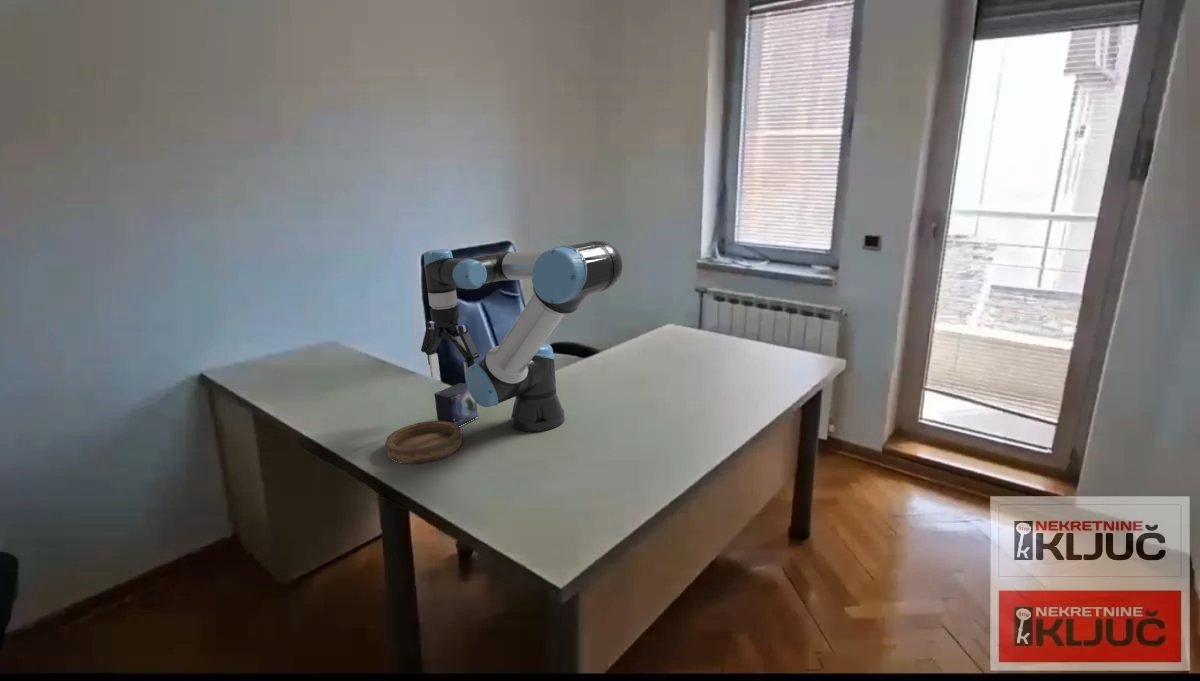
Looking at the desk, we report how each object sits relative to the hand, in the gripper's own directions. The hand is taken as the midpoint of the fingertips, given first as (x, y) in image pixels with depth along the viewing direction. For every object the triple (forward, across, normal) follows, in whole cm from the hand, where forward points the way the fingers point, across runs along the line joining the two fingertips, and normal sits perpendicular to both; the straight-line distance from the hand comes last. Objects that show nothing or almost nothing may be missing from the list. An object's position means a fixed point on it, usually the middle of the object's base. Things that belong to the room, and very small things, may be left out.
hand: (452, 379), depth 176 cm
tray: (+13, -4, +17) cm, 22 cm away
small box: (+14, 0, 0) cm, 14 cm away
